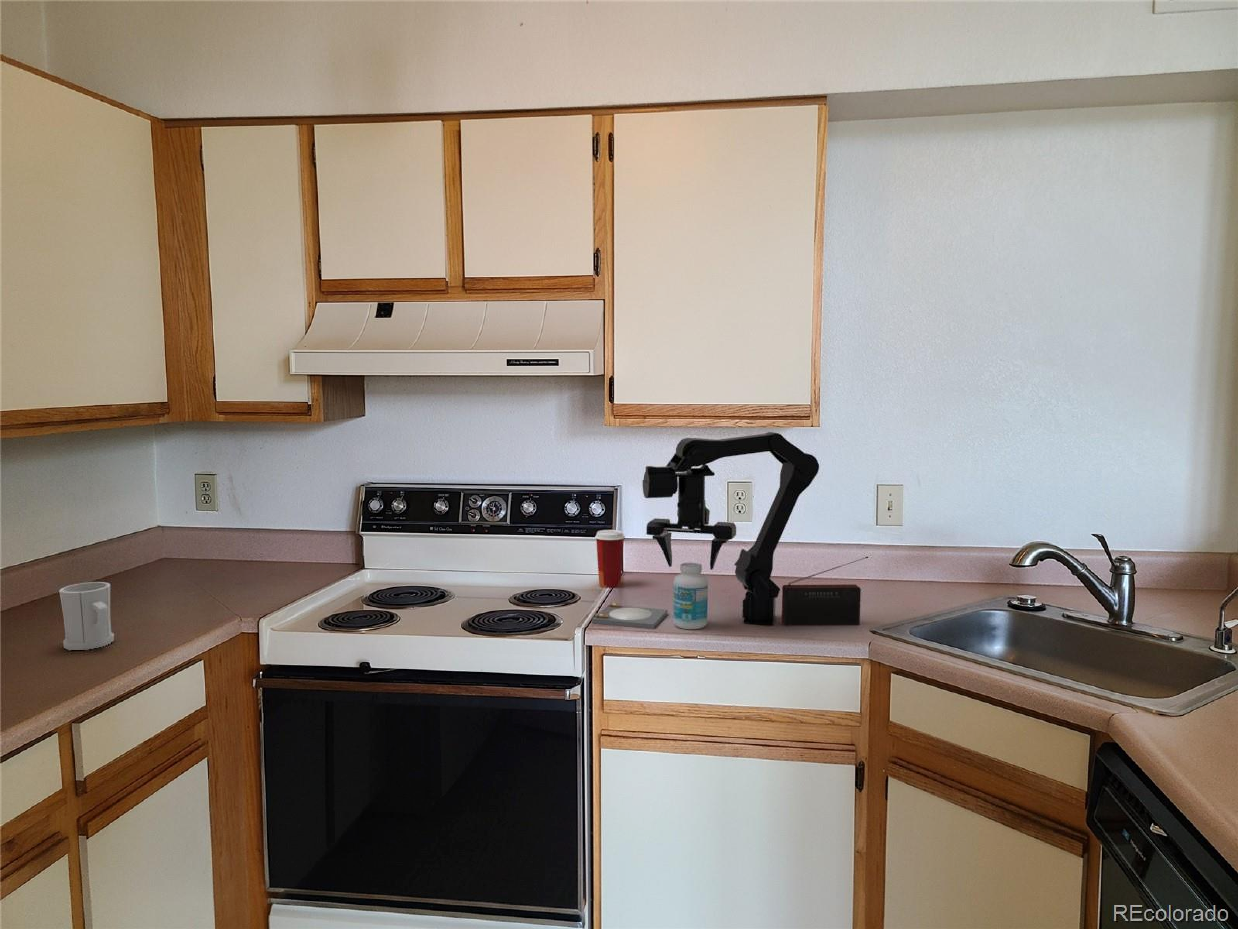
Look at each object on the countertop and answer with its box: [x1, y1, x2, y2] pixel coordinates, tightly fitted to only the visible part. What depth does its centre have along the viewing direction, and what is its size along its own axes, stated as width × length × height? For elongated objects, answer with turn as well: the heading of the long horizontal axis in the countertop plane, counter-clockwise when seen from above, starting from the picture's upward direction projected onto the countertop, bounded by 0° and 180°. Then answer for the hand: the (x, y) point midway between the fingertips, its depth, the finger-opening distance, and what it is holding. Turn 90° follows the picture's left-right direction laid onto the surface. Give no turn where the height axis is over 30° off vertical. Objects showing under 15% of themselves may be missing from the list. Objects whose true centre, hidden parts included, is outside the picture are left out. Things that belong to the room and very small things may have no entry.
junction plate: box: [591, 602, 668, 630], centre depth 193 cm, size 14×12×2 cm
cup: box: [58, 581, 115, 651], centre depth 174 cm, size 10×9×12 cm
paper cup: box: [594, 529, 626, 589], centre depth 222 cm, size 8×8×14 cm
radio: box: [781, 556, 869, 627], centre depth 187 cm, size 19×3×15 cm, turn 91°
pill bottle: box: [672, 562, 709, 630], centre depth 187 cm, size 8×7×14 cm
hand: (690, 567), depth 186 cm, fingers open, 9 cm apart
